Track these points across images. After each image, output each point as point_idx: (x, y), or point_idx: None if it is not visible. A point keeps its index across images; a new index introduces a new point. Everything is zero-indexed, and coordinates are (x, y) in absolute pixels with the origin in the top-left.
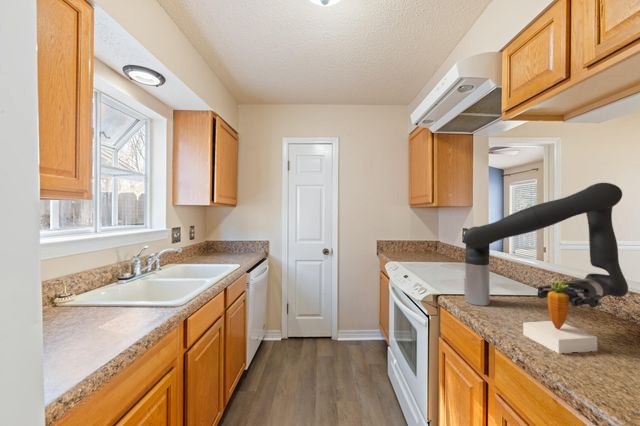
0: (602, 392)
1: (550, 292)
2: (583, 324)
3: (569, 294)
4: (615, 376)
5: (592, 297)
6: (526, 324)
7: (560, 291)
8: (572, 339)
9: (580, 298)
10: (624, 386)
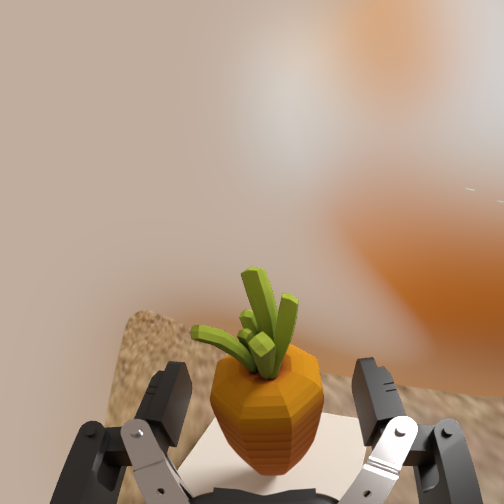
0: (152, 341)
1: (299, 349)
2: None
3: (238, 491)
4: (132, 400)
5: (87, 457)
6: (356, 419)
7: (250, 362)
8: (209, 427)
9: (149, 413)
10: (124, 376)
